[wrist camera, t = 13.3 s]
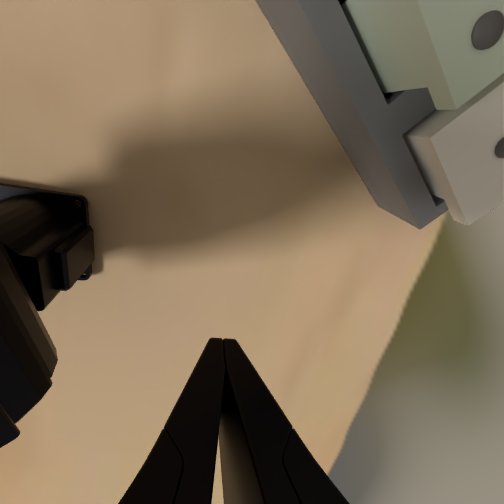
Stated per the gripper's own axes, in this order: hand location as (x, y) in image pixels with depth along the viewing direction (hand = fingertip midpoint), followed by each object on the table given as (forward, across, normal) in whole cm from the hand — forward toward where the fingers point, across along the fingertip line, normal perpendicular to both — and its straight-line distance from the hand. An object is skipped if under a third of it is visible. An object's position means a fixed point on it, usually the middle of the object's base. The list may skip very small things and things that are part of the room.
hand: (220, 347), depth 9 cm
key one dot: (+13, -12, -8) cm, 19 cm away
